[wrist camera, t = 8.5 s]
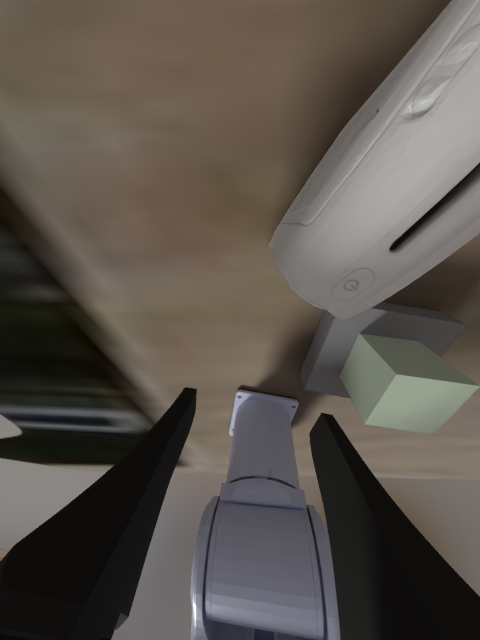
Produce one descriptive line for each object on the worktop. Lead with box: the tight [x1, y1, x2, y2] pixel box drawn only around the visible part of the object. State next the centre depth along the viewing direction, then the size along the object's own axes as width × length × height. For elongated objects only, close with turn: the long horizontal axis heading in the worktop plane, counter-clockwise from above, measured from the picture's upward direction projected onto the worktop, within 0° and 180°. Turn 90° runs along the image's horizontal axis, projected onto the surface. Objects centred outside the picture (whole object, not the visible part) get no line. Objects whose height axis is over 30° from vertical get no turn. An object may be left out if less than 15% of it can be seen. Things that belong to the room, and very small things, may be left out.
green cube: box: [339, 333, 480, 435], centre depth 15 cm, size 5×5×5 cm
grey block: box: [300, 302, 466, 398], centre depth 19 cm, size 10×10×3 cm
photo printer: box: [269, 0, 480, 320], centre depth 9 cm, size 10×4×12 cm, turn 147°
